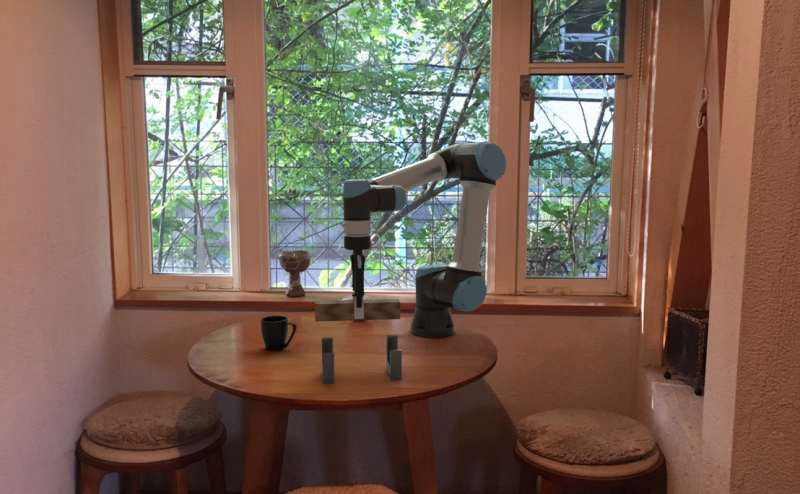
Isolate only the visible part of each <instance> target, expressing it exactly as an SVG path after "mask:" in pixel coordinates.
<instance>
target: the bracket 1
mask: <svg viewBox="0 0 800 494" xmlns="http://www.w3.org/2000/svg"><path fill="white" fill-rule="evenodd" d="M321 376H322V377H321V378H322V384H334V383H335V352H334V338H333V337H321Z"/></svg>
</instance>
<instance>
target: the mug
mask: <svg viewBox="0 0 800 494" xmlns="http://www.w3.org/2000/svg"><path fill="white" fill-rule="evenodd" d="M289 326H292V331H291V334H290V337H289V338H288V340H287V337H288V334H289V333H288V331H289ZM297 327H298V326H297V324H296V323H295V322H289V318H288V317H287V316H284V315H268V316H265V317H262V318H261V319H260V330H261V337H262V341H263V343H264V345H265V349H266V350H267V351H269V352H270V351H271V352H278V351H281V350H284V349H286V348H288V346H289V345H290V343H291V342H292V341H293V338H294V337H295V334H296V331H297Z"/></svg>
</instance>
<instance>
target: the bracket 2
mask: <svg viewBox="0 0 800 494" xmlns="http://www.w3.org/2000/svg"><path fill="white" fill-rule="evenodd" d="M402 352H403V351H402V348H401V349H399V335H398V334H387V335H386V372H387V374H388V377H389V380H390V381H396V380H398V381H401V380H402V379H403V377H402V372H403V369H402V366H403V365H402V364H403V361H402V358H403V356H402V355H403V353H402Z"/></svg>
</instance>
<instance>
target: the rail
mask: <svg viewBox="0 0 800 494" xmlns="http://www.w3.org/2000/svg"><path fill="white" fill-rule="evenodd" d="M314 314H315V315H314V319H315V321H314V322H344V321H345V322H350V321H356V322H357V321H378V320H379V321H380V320H383V321H384V320H386V321H387V320H401V301H400V299H399V298H384V299H381V298H380V299H364V319H354V300H353V299H349V300H348V299H343V300H341V299H340V300H338V299H337V300H314Z"/></svg>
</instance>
